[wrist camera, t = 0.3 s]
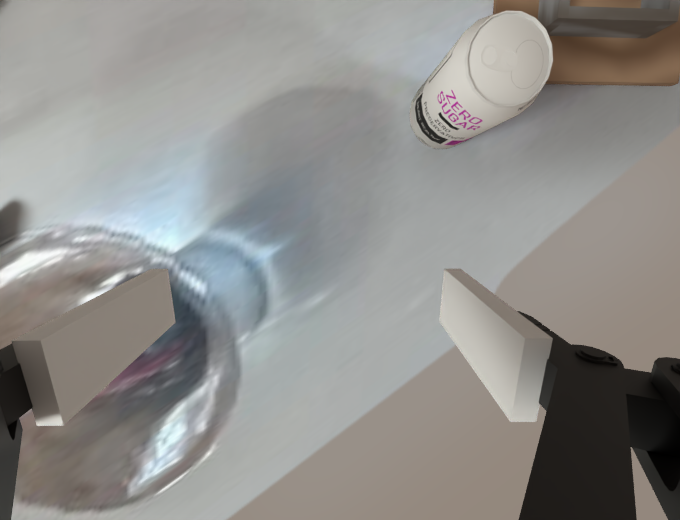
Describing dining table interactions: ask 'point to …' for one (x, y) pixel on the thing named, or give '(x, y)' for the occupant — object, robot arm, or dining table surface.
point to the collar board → (608, 39)
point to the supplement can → (483, 79)
